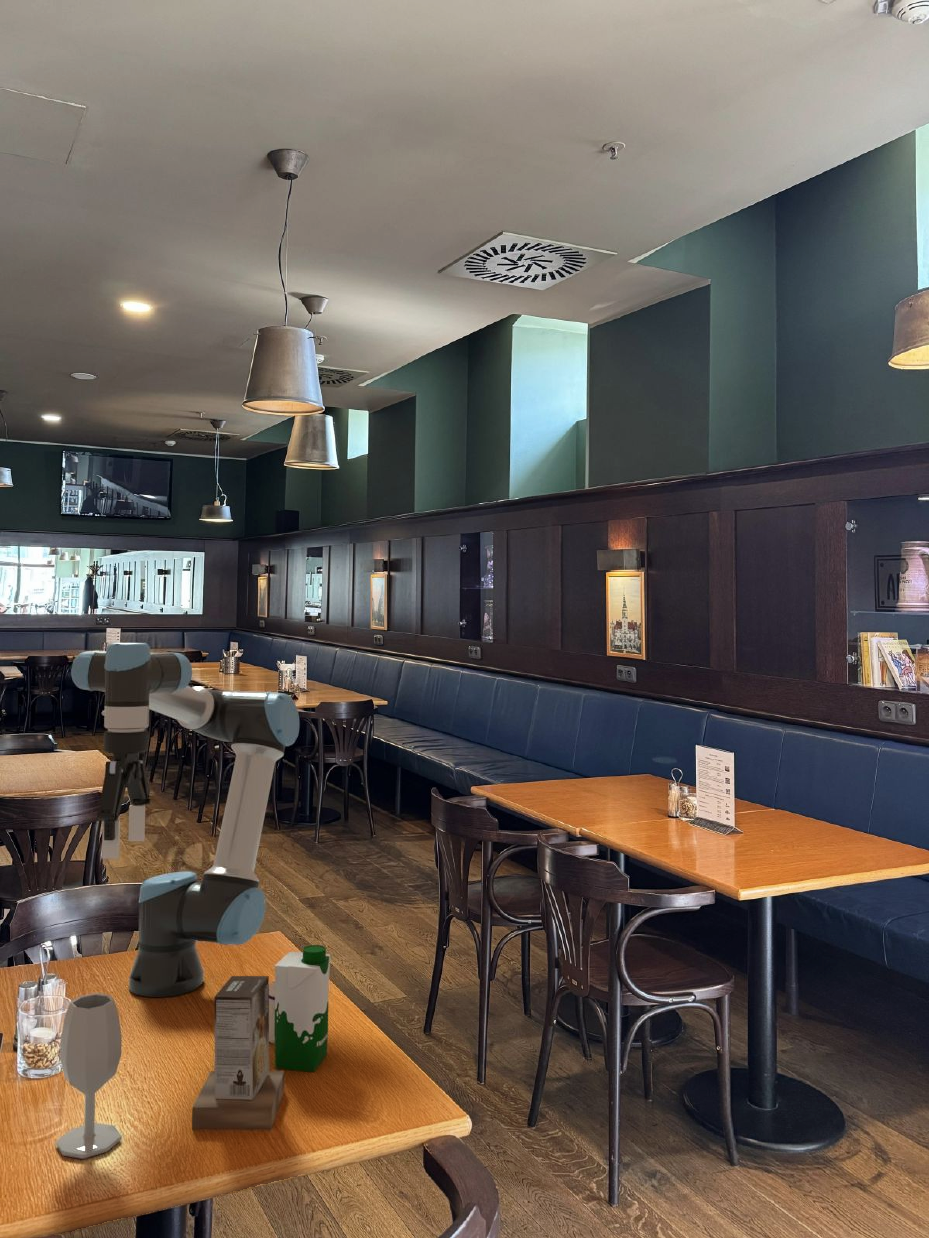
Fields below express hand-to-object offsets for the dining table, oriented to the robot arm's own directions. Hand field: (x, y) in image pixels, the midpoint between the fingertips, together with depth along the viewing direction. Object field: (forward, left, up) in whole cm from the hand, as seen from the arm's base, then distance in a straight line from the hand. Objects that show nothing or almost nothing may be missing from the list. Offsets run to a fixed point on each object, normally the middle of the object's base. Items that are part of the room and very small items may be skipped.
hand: (124, 849), depth 170 cm
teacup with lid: (-11, +28, -37) cm, 48 cm away
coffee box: (+18, +25, -34) cm, 45 cm away
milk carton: (+1, +32, -37) cm, 49 cm away
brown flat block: (+18, +25, -37) cm, 48 cm away
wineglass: (+28, +5, -37) cm, 47 cm away
